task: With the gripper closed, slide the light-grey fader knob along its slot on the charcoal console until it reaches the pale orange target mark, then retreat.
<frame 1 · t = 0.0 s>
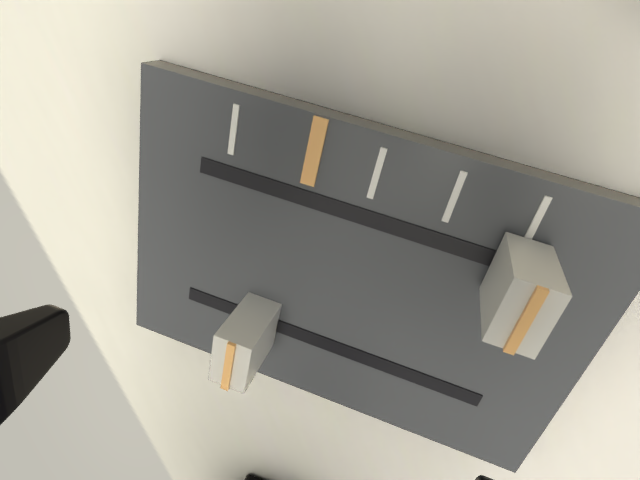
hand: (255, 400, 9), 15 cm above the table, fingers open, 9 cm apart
console: (350, 271, 24), on the table
fader: (519, 292, 18), point 4 cm above the table, slide at 0.0 cm
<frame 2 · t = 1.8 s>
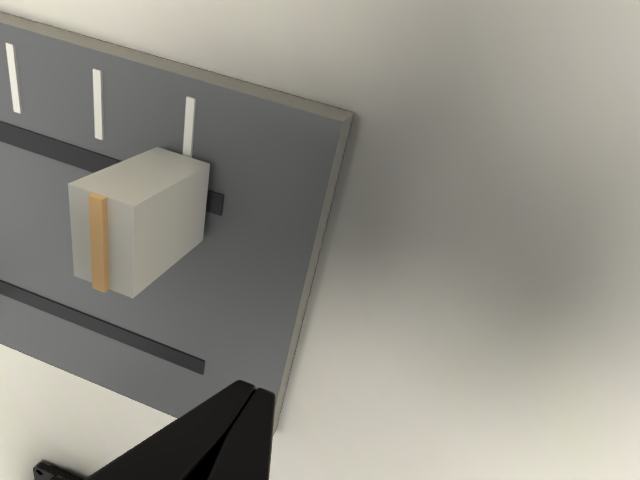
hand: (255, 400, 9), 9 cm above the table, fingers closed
console: (60, 215, 21), on the table
fader: (144, 217, 14), point 4 cm above the table, slide at 0.0 cm
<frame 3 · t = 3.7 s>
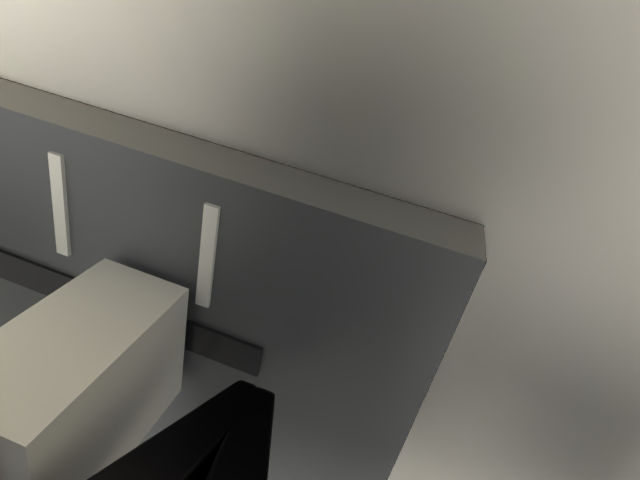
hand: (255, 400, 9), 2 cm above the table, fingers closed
console: (19, 328, 15), on the table
fader: (75, 394, 8), point 4 cm above the table, slide at 1.2 cm, touching gripper
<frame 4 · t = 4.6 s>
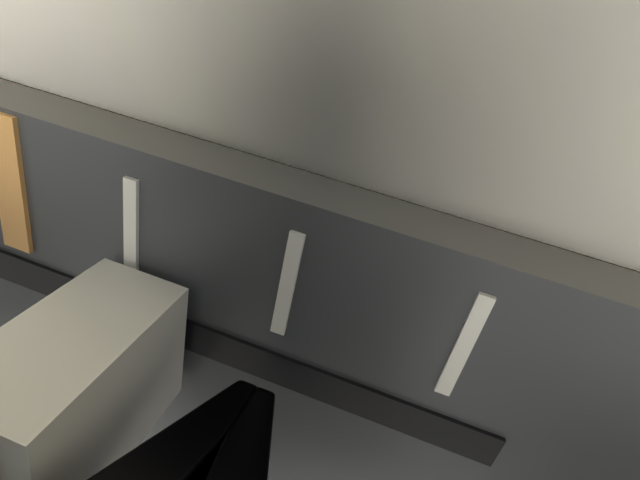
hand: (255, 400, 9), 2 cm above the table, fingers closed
console: (163, 386, 14), on the table
fader: (75, 394, 8), point 4 cm above the table, slide at 6.5 cm, touching gripper
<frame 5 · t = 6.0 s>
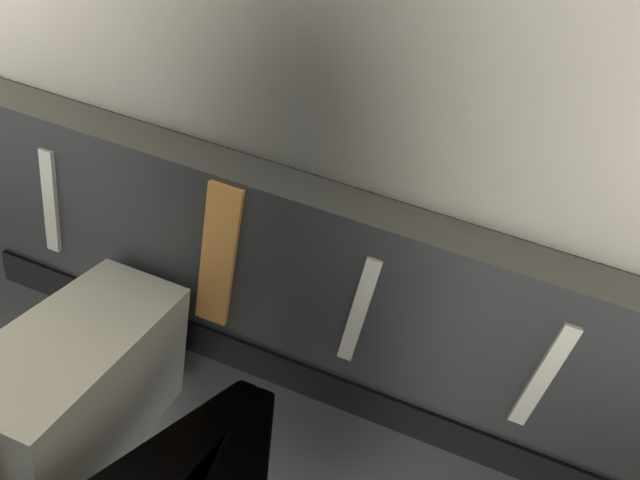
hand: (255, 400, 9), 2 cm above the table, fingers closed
console: (316, 448, 13), on the table
fader: (77, 393, 8), point 4 cm above the table, slide at 11.4 cm, touching gripper
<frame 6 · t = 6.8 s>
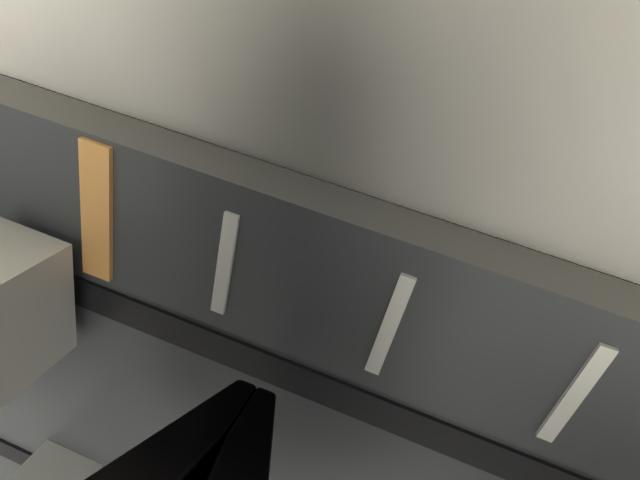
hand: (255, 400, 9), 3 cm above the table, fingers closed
console: (223, 411, 14), on the table
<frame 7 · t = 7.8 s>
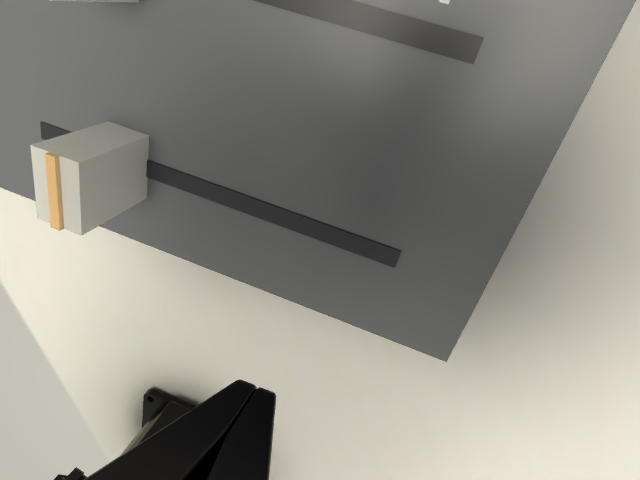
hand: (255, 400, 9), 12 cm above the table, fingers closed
console: (237, 91, 19), on the table
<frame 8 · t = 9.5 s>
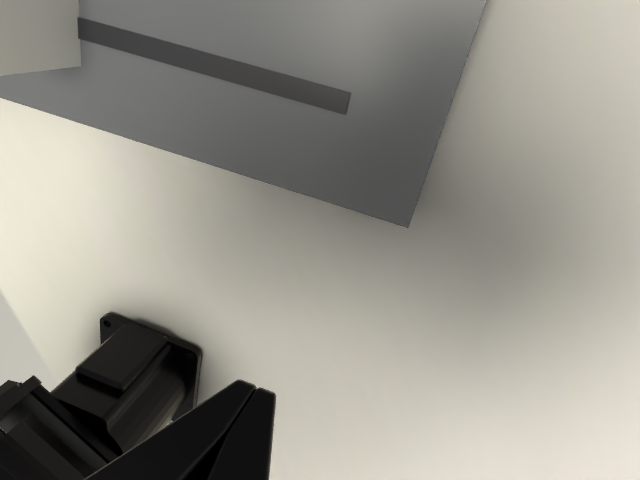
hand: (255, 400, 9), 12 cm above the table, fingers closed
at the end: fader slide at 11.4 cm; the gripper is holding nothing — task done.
